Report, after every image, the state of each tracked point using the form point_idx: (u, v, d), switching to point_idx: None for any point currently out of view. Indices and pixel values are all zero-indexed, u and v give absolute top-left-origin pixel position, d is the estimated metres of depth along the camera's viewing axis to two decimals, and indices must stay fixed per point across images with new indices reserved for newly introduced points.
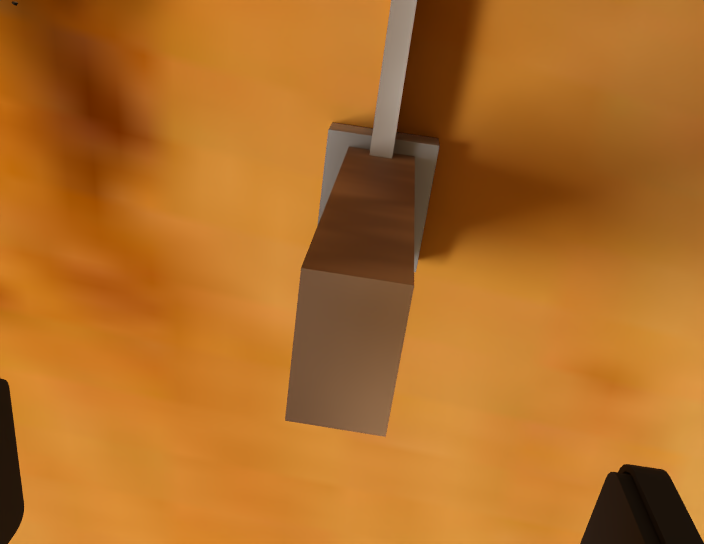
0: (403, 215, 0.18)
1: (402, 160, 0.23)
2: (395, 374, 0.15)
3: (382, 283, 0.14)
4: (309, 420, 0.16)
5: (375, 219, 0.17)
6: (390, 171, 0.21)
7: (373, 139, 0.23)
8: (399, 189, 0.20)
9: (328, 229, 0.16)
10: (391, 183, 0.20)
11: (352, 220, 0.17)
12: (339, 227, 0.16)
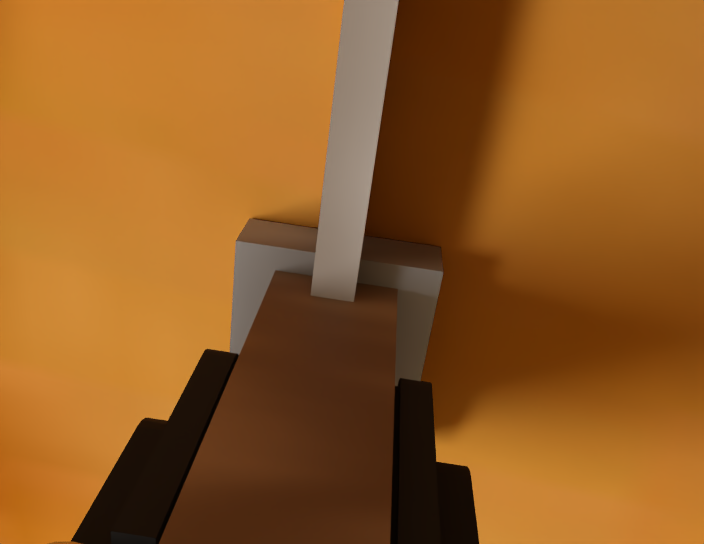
0: None
1: (373, 306, 0.12)
2: None
3: None
4: None
5: None
6: (346, 350, 0.10)
7: (317, 268, 0.12)
8: (360, 426, 0.09)
9: None
10: (345, 400, 0.09)
11: None
12: None
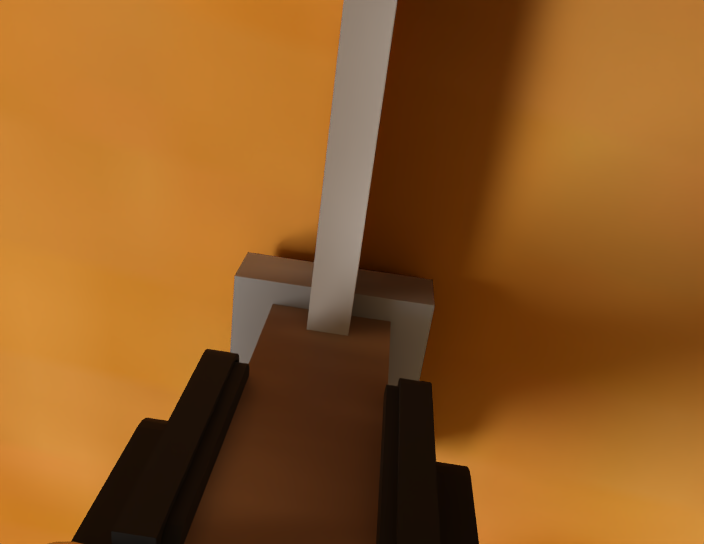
0: None
1: (367, 339, 0.12)
2: None
3: None
4: None
5: None
6: (340, 385, 0.11)
7: (312, 303, 0.12)
8: (352, 462, 0.09)
9: None
10: (339, 436, 0.10)
11: None
12: None
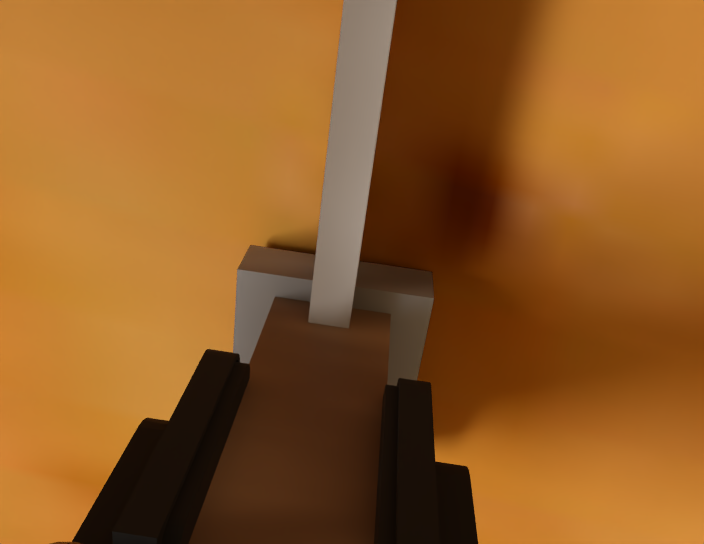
0: None
1: (367, 332, 0.13)
2: None
3: None
4: None
5: None
6: (341, 378, 0.11)
7: (314, 297, 0.12)
8: (352, 455, 0.10)
9: None
10: (339, 430, 0.10)
11: None
12: None
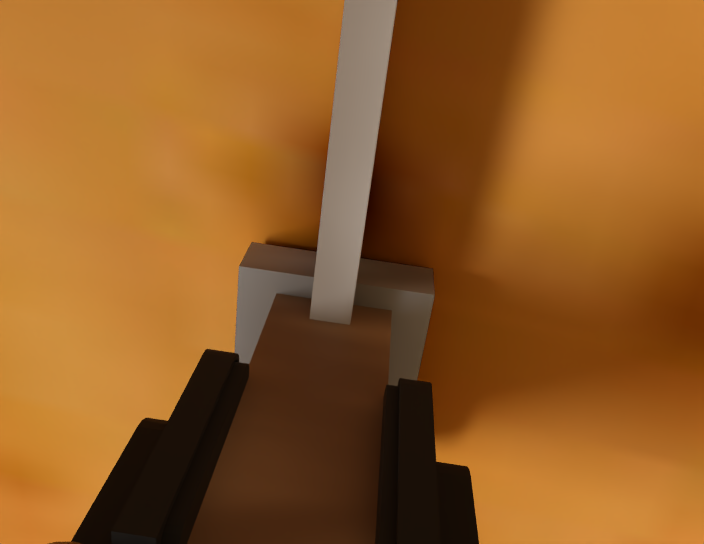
0: None
1: (368, 328, 0.13)
2: None
3: None
4: None
5: None
6: (342, 374, 0.11)
7: (315, 294, 0.12)
8: (353, 449, 0.10)
9: None
10: (340, 425, 0.10)
11: None
12: None
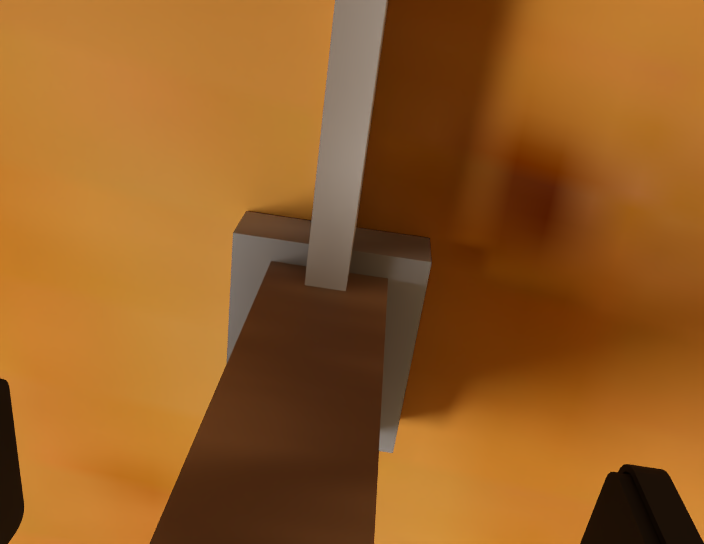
0: (349, 533, 0.07)
1: (364, 295, 0.12)
2: None
3: None
4: None
5: None
6: (338, 337, 0.11)
7: (310, 259, 0.12)
8: (349, 407, 0.09)
9: None
10: (336, 384, 0.10)
11: None
12: None
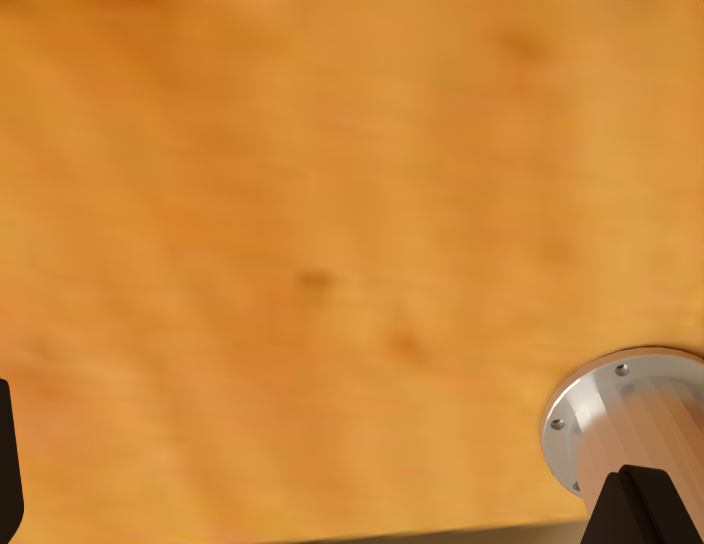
0: None
1: None
2: None
3: None
4: None
5: None
6: None
7: None
8: None
9: None
10: None
11: None
12: None
